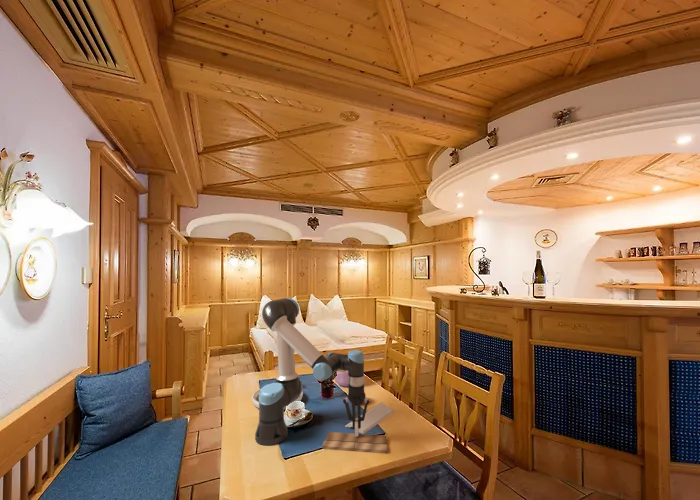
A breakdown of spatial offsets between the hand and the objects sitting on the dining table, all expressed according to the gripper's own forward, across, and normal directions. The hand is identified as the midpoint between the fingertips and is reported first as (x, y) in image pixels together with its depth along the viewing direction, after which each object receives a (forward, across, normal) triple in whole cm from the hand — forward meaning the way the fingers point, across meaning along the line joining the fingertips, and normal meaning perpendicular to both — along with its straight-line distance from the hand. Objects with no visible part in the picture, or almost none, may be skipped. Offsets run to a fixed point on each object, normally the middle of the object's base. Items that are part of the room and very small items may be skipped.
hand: (356, 435), depth 149 cm
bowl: (+2, -52, +35) cm, 63 cm away
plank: (+2, 0, -1) cm, 2 cm away
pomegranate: (+2, -4, +39) cm, 40 cm away
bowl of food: (+2, -15, +67) cm, 69 cm away
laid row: (+2, 0, -7) cm, 7 cm away
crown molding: (+3, +5, +21) cm, 21 cm away
